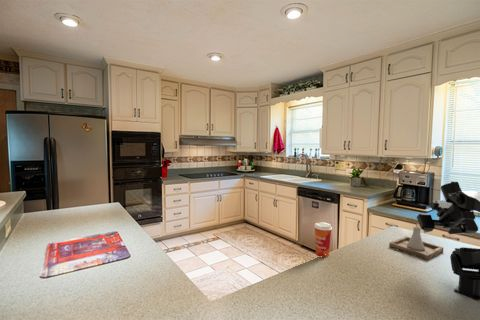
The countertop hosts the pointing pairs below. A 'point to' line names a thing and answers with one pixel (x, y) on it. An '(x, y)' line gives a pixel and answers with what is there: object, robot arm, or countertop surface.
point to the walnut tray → (425, 254)
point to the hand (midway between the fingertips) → (436, 232)
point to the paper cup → (322, 238)
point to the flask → (416, 240)
